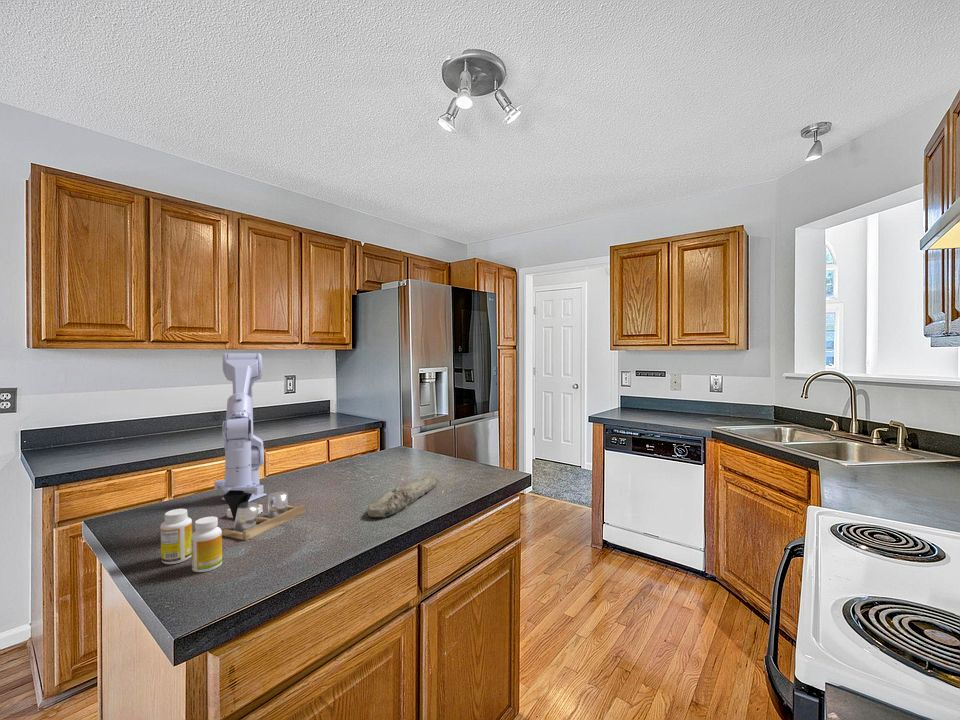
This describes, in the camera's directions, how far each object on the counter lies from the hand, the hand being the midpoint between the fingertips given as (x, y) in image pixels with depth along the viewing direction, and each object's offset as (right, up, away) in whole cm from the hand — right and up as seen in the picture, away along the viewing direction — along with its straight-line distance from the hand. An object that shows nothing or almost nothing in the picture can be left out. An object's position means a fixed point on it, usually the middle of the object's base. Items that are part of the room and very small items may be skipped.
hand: (238, 520), depth 110 cm
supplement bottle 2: (+4, -3, -19) cm, 20 cm away
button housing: (-3, -2, +9) cm, 10 cm away
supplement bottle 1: (-4, -3, -16) cm, 17 cm away
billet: (+2, -2, 0) cm, 3 cm away
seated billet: (+6, -2, +8) cm, 10 cm away
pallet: (+5, -2, +3) cm, 6 cm away
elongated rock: (+38, -2, +22) cm, 44 cm away
